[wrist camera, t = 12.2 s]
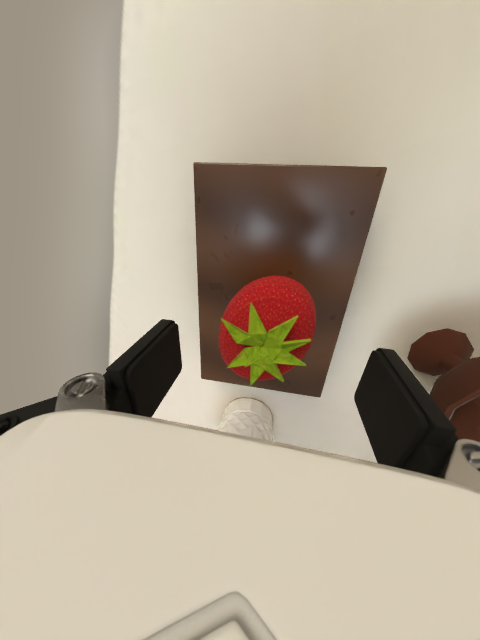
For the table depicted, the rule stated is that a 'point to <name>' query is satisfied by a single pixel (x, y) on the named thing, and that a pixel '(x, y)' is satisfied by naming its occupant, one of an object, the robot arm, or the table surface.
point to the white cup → (248, 419)
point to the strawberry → (267, 328)
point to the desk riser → (280, 249)
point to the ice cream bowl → (451, 377)
